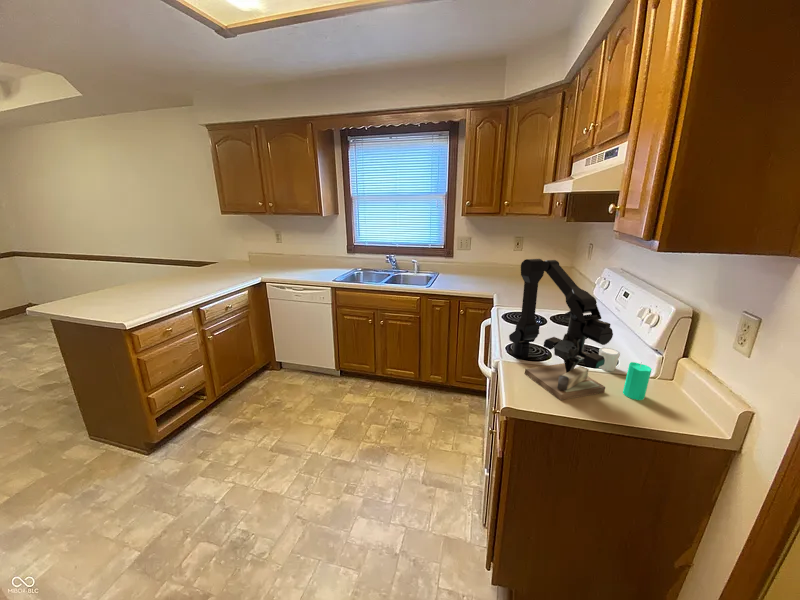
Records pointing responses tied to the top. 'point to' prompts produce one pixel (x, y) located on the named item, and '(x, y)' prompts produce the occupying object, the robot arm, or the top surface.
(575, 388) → the stool seat
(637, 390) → the candle
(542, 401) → the top surface
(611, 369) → the white mug
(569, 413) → the top surface
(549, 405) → the top surface
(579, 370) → the hinged leg
